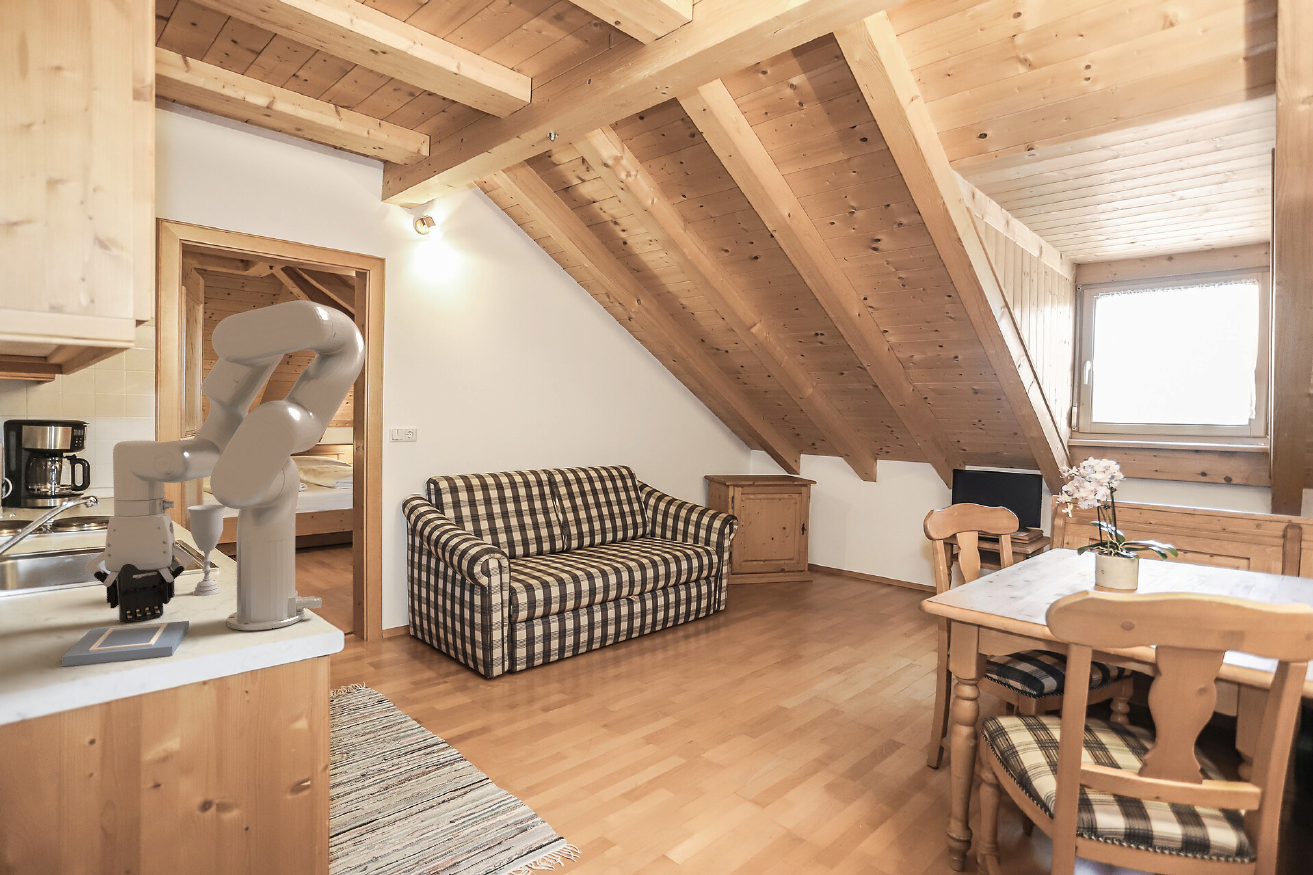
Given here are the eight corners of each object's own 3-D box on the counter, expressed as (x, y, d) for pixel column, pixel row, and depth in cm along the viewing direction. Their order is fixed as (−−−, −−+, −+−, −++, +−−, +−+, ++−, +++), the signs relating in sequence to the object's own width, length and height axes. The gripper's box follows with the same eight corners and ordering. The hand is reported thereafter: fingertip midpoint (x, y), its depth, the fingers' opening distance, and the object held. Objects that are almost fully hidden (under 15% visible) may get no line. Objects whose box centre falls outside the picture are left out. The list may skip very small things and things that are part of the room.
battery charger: (122, 625, 127) (121, 562, 127) (116, 621, 130) (115, 558, 129) (168, 617, 133) (167, 556, 132) (161, 612, 135) (160, 553, 135)
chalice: (184, 591, 150) (184, 506, 150) (221, 586, 155) (221, 503, 154) (191, 598, 145) (190, 510, 144) (229, 593, 150) (229, 508, 149)
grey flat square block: (189, 629, 127) (188, 619, 127) (172, 655, 114) (172, 644, 114) (91, 637, 121) (91, 627, 121) (62, 666, 108) (62, 654, 108)
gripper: (199, 503, 137) (200, 594, 138) (87, 507, 130) (89, 603, 131) (192, 509, 130) (193, 605, 131) (73, 513, 123) (75, 614, 124)
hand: (141, 603), depth 131 cm, fingers closed on battery charger, 7 cm apart
